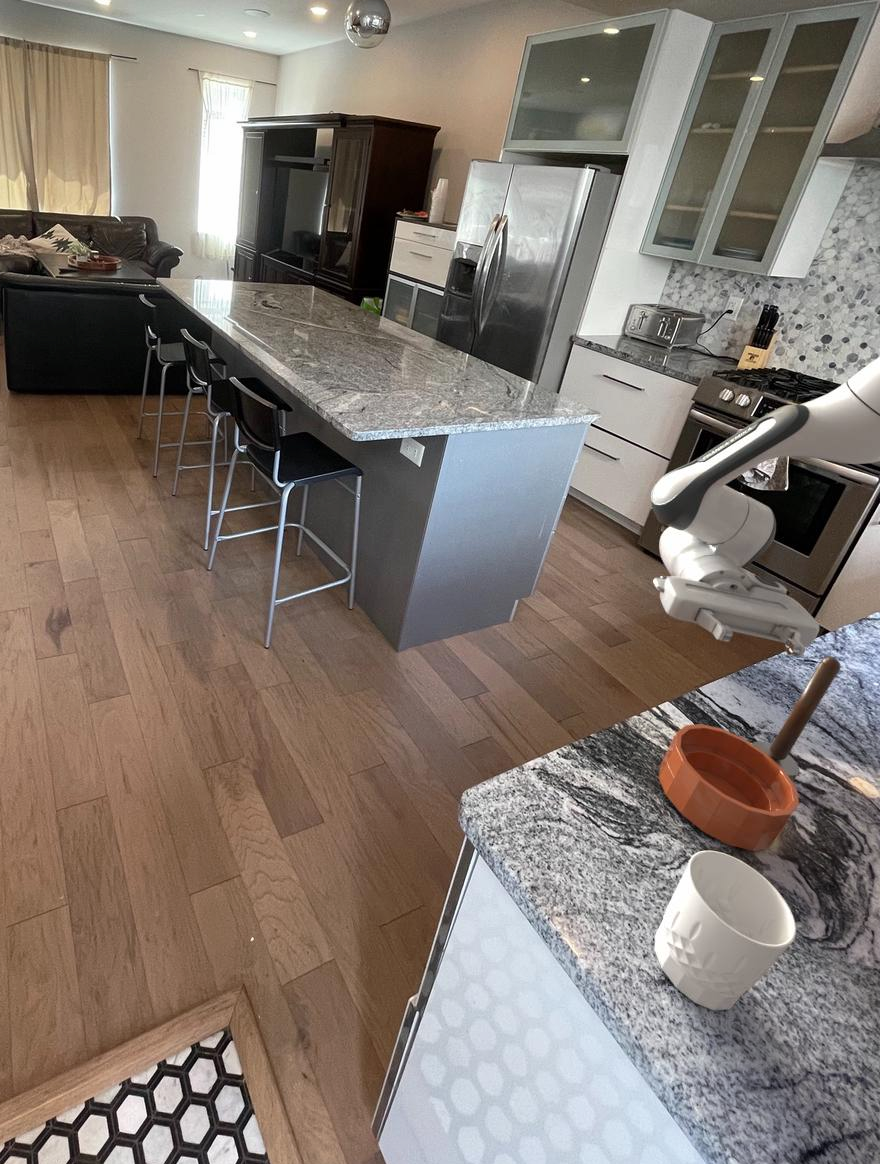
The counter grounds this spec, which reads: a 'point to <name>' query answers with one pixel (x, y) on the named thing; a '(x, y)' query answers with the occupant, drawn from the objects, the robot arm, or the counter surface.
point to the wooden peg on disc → (800, 716)
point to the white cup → (722, 930)
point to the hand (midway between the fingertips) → (761, 644)
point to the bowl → (727, 787)
